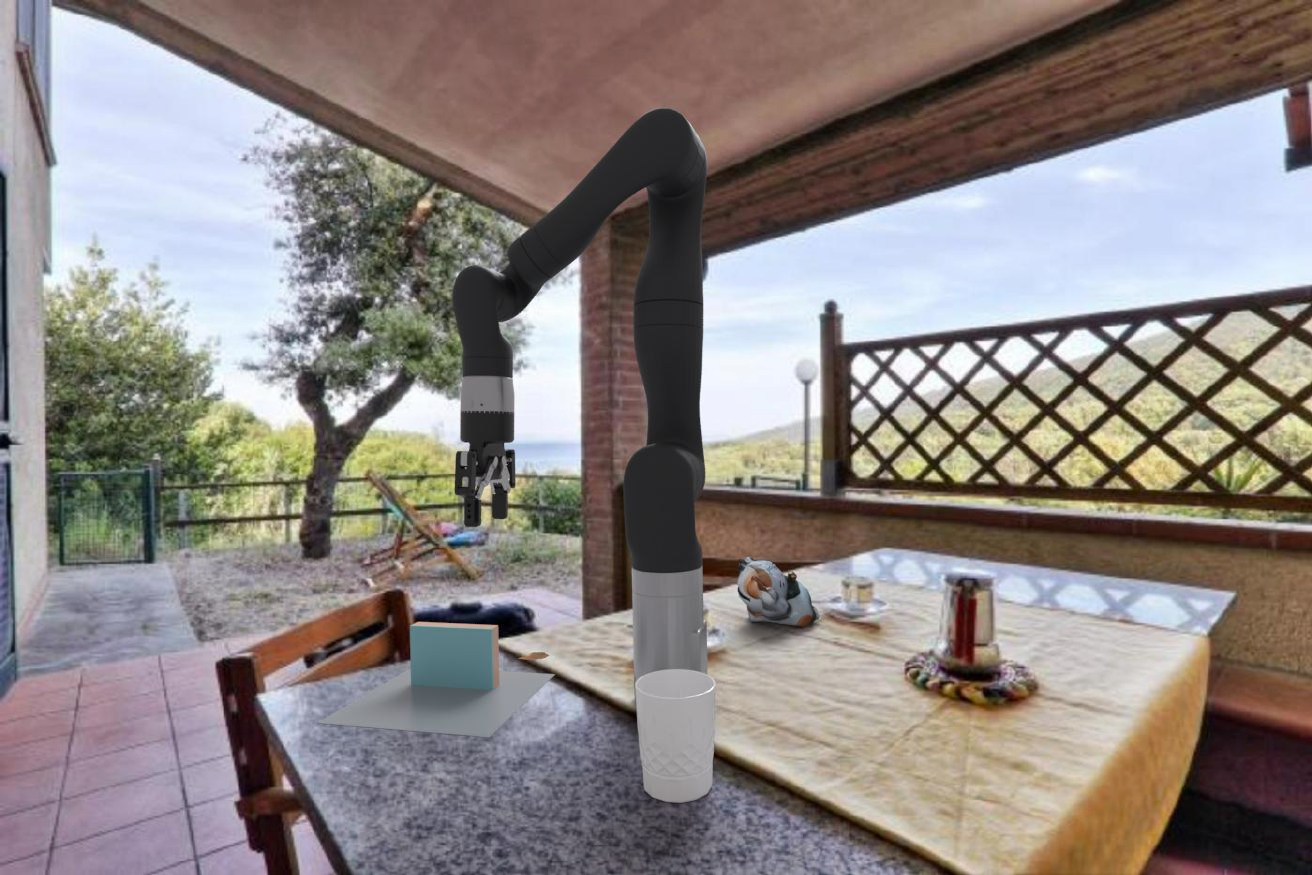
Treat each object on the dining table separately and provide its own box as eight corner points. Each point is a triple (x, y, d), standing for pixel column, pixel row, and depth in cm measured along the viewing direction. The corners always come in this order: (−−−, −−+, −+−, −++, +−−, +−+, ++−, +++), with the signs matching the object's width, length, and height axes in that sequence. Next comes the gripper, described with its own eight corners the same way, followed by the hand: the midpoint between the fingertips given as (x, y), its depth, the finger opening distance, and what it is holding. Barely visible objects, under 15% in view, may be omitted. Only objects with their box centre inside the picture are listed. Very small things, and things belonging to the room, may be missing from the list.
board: (555, 682, 93) (554, 674, 93) (489, 747, 74) (488, 737, 74) (414, 673, 98) (414, 665, 98) (317, 732, 79) (317, 722, 79)
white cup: (635, 767, 69) (633, 670, 69) (710, 763, 69) (708, 666, 69) (639, 810, 61) (637, 700, 61) (725, 804, 62) (722, 695, 62)
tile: (499, 684, 90) (498, 625, 90) (492, 690, 88) (491, 629, 88) (419, 679, 92) (418, 621, 92) (411, 684, 90) (409, 625, 90)
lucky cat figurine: (829, 628, 117) (803, 563, 113) (766, 656, 117) (738, 593, 113) (800, 585, 131) (776, 527, 127) (745, 610, 131) (719, 553, 127)
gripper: (489, 407, 88) (488, 530, 88) (531, 411, 102) (530, 517, 102) (437, 407, 89) (436, 528, 90) (486, 411, 103) (485, 515, 104)
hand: (486, 522), depth 96 cm, fingers open, 8 cm apart
